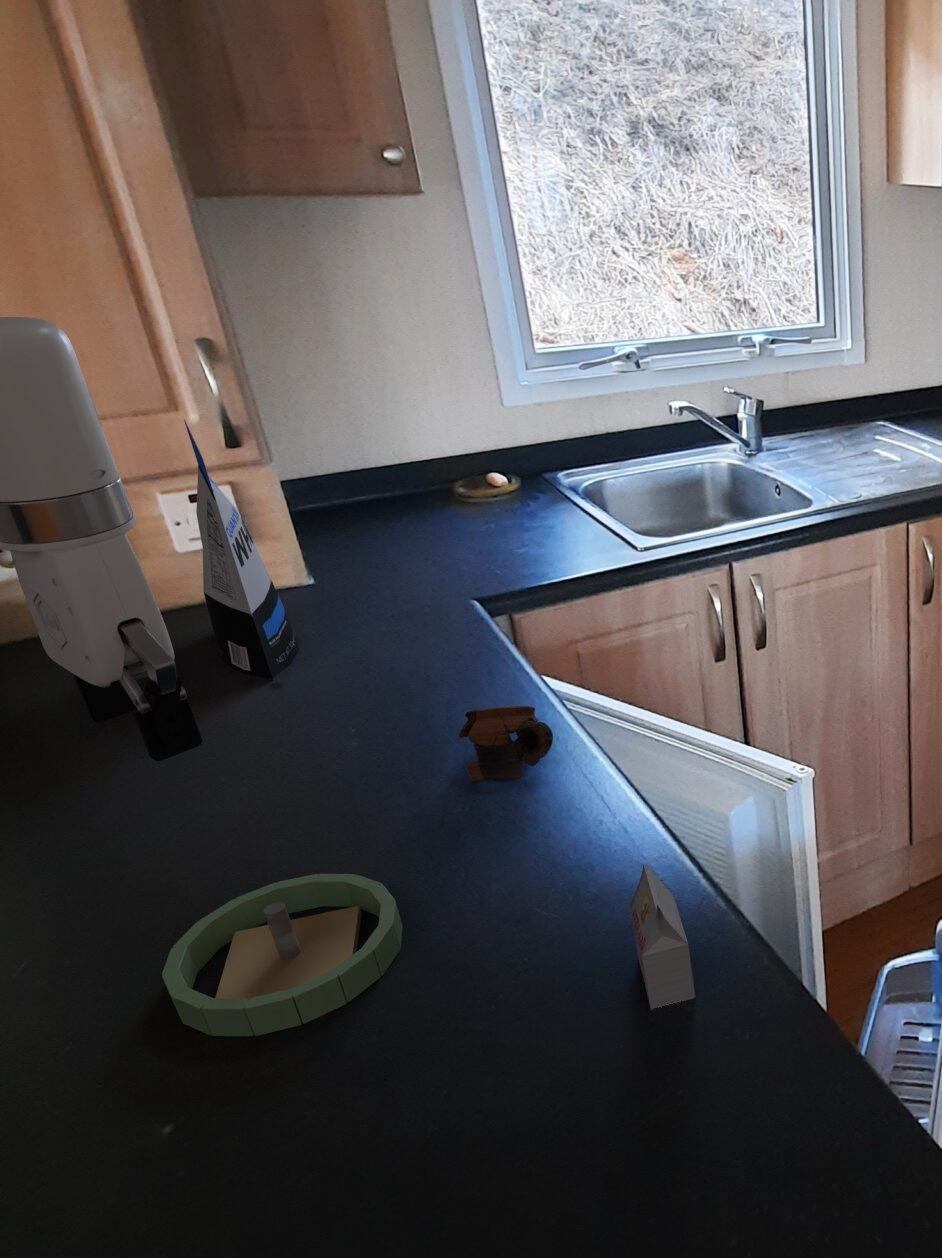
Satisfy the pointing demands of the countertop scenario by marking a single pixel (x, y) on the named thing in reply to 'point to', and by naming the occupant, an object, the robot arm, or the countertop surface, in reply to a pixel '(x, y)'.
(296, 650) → the protein powder
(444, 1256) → the countertop surface
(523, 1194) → the countertop surface
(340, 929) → the stand
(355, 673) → the countertop surface
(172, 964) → the hoop
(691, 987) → the gable top carton
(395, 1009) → the countertop surface
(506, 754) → the pottery mug
